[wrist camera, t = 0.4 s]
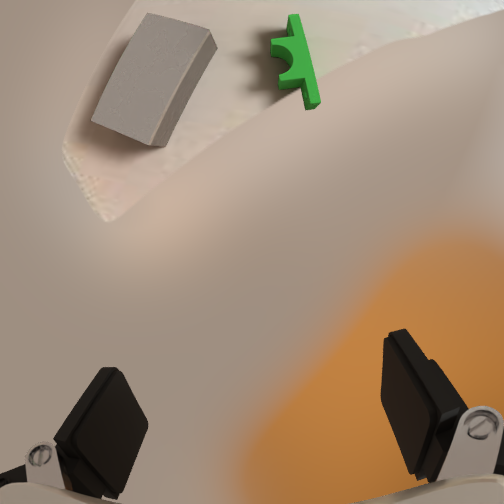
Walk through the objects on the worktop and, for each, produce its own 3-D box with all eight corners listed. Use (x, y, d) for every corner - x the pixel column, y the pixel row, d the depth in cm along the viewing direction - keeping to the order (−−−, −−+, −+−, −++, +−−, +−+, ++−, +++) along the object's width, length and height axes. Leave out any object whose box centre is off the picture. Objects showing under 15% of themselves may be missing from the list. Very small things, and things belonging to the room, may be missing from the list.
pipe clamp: (265, 32, 30) (265, 17, 26) (295, 29, 30) (298, 13, 26) (283, 113, 33) (286, 106, 29) (314, 109, 33) (321, 102, 29)
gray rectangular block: (163, 30, 30) (147, 12, 24) (217, 48, 31) (209, 29, 25) (114, 125, 34) (90, 120, 28) (165, 147, 35) (147, 145, 29)
